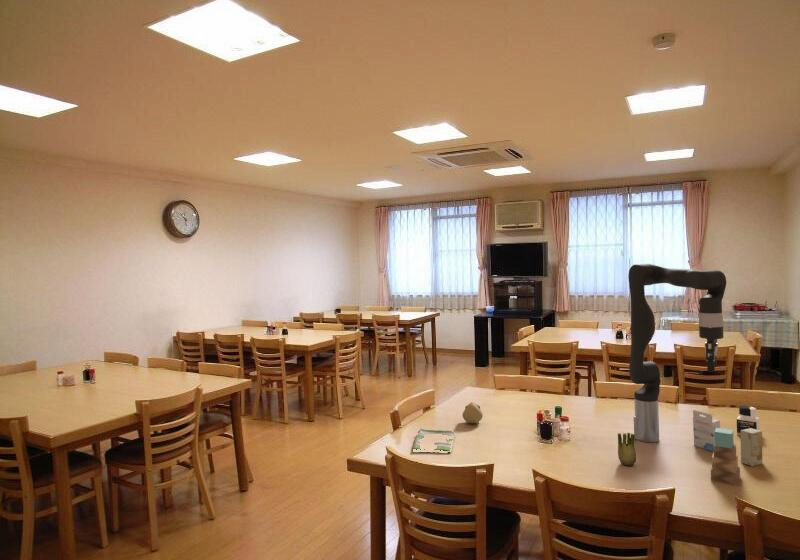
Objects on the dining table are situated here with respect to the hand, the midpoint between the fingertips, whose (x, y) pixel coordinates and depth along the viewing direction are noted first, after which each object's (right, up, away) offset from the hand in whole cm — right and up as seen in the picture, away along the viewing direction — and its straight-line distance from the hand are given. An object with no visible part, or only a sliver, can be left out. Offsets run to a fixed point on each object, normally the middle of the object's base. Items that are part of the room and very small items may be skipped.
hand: (712, 369), depth 183 cm
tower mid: (-1, -33, -9) cm, 34 cm away
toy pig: (-78, -38, +63) cm, 107 cm away
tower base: (-1, -37, -9) cm, 38 cm away
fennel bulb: (-28, -37, +6) cm, 47 cm away
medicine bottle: (+36, -34, +33) cm, 60 cm away
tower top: (-1, -29, -9) cm, 30 cm away
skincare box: (+17, -36, +3) cm, 39 cm away
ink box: (+11, -36, +20) cm, 42 cm away
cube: (-2, -25, -9) cm, 26 cm away
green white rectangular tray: (-99, -40, +37) cm, 113 cm away
